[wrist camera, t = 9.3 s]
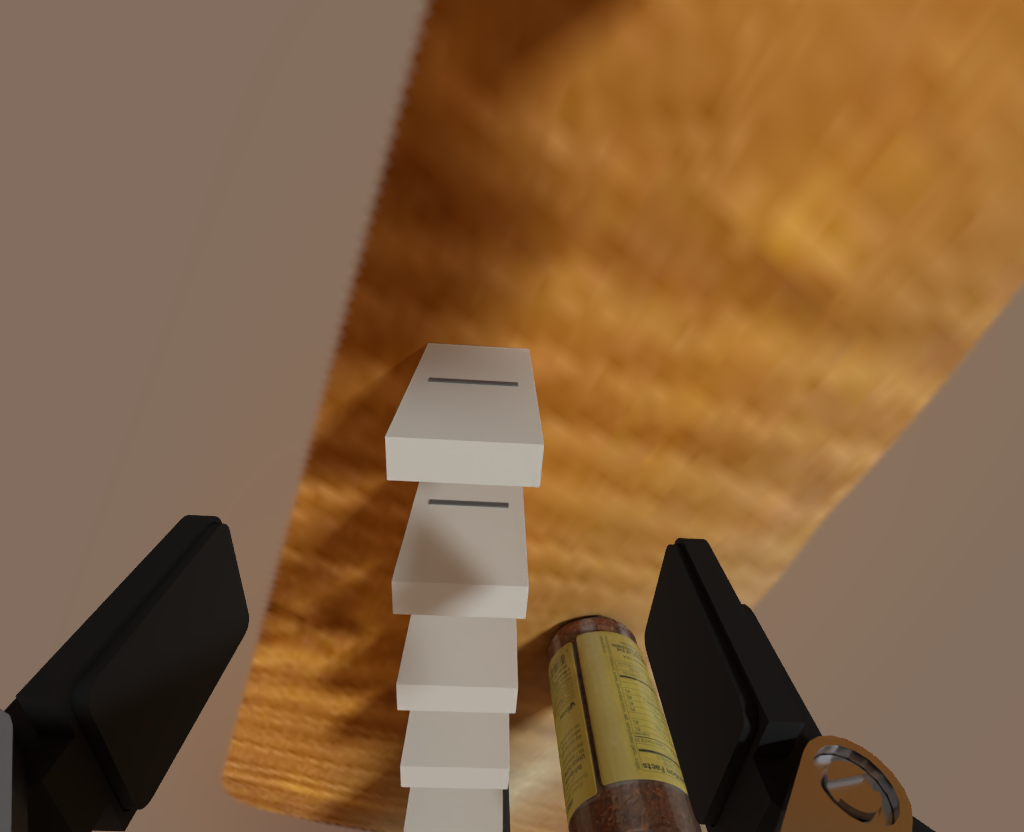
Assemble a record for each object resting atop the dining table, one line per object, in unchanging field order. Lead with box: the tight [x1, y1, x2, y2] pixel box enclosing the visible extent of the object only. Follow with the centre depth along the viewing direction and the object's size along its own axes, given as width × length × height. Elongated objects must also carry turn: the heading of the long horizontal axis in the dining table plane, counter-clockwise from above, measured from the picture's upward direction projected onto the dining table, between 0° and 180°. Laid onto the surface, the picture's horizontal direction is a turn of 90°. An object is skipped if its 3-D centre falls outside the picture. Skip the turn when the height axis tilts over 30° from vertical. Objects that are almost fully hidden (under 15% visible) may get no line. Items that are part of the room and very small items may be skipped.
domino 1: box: [385, 343, 544, 487], centre depth 21 cm, size 2×5×10 cm, turn 87°
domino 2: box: [391, 482, 529, 619], centre depth 23 cm, size 2×5×10 cm, turn 86°
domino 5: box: [403, 787, 503, 832], centre depth 30 cm, size 2×5×10 cm, turn 86°
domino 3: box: [396, 615, 518, 713], centre depth 25 cm, size 2×5×10 cm, turn 86°
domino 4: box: [400, 710, 510, 789], centre depth 28 cm, size 2×5×10 cm, turn 86°
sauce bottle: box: [548, 616, 702, 832], centre depth 25 cm, size 6×6×20 cm
